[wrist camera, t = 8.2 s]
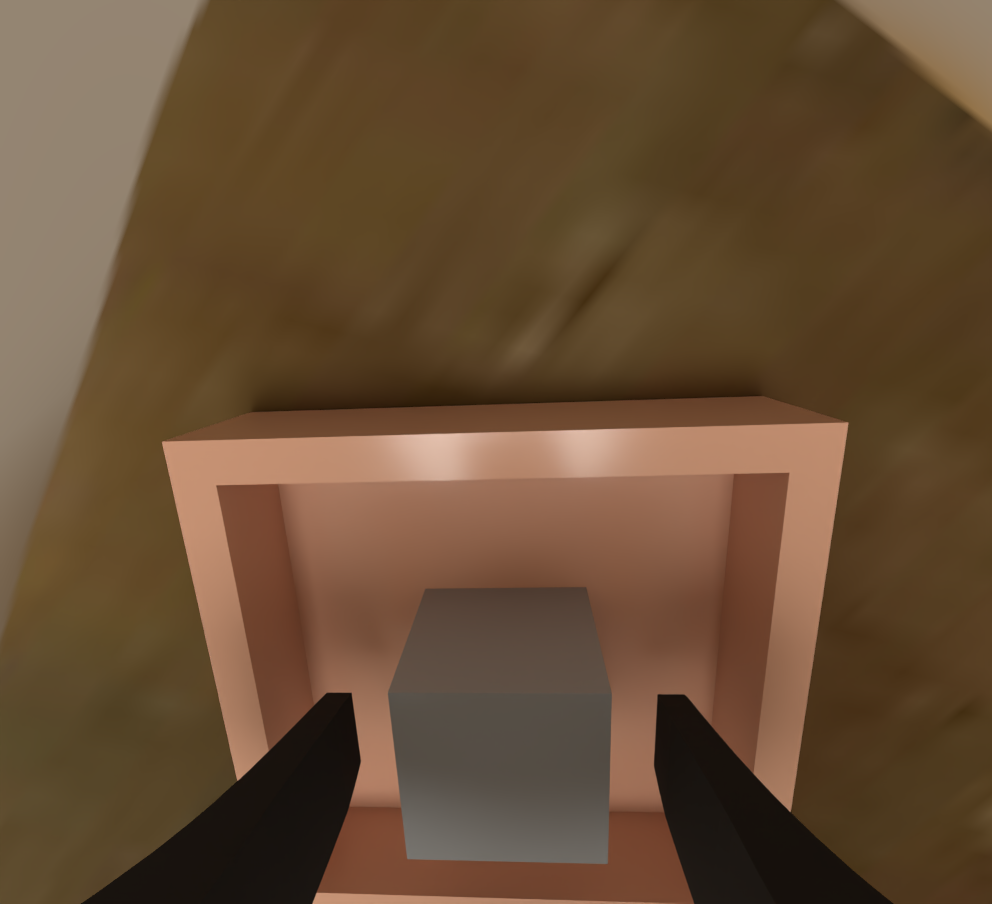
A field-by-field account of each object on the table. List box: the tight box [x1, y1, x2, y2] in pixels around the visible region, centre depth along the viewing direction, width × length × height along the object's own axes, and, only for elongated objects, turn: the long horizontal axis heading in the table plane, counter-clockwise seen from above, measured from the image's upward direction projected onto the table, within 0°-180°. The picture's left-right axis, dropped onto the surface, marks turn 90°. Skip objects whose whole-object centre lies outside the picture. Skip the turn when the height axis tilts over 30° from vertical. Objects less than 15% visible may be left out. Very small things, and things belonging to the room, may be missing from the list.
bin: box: [162, 396, 848, 904], centre depth 13 cm, size 14×14×4 cm
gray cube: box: [388, 587, 612, 864], centre depth 12 cm, size 4×4×4 cm
